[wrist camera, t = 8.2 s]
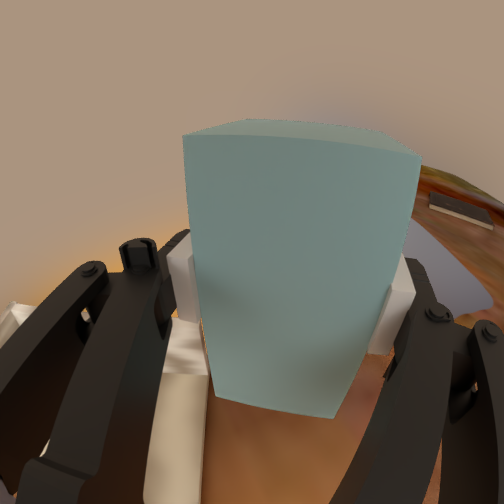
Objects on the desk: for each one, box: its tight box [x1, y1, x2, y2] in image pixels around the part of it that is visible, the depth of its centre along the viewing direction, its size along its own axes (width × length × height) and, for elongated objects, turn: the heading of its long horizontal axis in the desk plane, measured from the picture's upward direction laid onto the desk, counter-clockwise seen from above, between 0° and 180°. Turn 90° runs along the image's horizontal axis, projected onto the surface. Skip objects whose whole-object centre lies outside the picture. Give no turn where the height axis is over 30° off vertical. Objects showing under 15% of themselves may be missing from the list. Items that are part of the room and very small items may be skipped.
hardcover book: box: [429, 191, 494, 230], centre depth 71 cm, size 16×23×2 cm
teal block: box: [183, 119, 422, 419], centre depth 12 cm, size 6×6×12 cm
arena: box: [0, 301, 210, 504], centre depth 19 cm, size 24×16×8 cm, turn 91°
